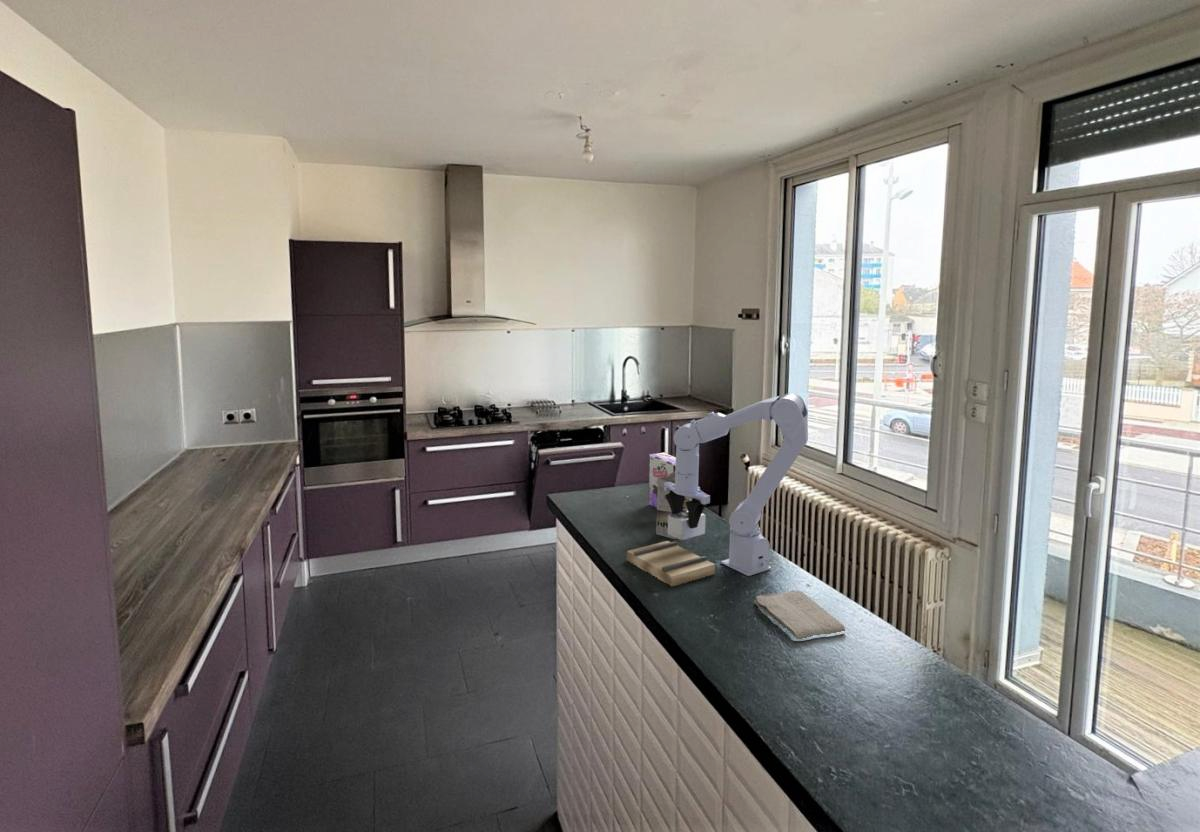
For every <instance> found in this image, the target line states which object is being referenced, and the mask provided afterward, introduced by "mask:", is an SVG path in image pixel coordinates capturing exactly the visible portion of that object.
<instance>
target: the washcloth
mask: <svg viewBox="0 0 1200 832" xmlns="http://www.w3.org/2000/svg"><path fill="white" fill-rule="evenodd" d="M753 603H754V605H755V604H756V605H757V606H759V607H760V608H762V609H763V610H764V611H765V612H767V613H768V614H769V615H770V616H771V617H773V619H775V620H776V621H777V622H778V623H779V624H781V625H782V626H783V628H787V630H788V631H790V632H791V633H792V634H793V635H794V636H795V637H796V639H802V638H807V637H811V636H813V635H820V634H831V633H836V632H841V631H845V630H846V627H845V626H844V624H843V623H841V622H840V621H839V620H838V619H836V617H834V616H833V615H831V614H830V613H829V612H828V611H827V610H825V608H823V607H822V606H820V604H818V603H817V602H816V601H814V600H813V599H812V598H810V597H809V596H808V595H807V594H806V593H804V591H801V590H791V591H788V592H783V593H782V592H781V593H768V594H764V595H763V594H762V595H756V596H755V599H754V600H753ZM756 605H755V606H756ZM757 606H756V607H757Z"/></svg>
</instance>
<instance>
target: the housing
mask: <svg viewBox="0 0 1200 832" xmlns="http://www.w3.org/2000/svg"><path fill="white" fill-rule="evenodd" d="M706 519H707V518H706V514H705V513H702V514H701V516H700V519H699V522H698V526H697V527H696V528H692V529H691V528H690V527H689V514H688V509H683V510H681V512H679V513H675V514H671V515H668V535H671V536H673V537H675V538H676V539H677V540H680V541H684V540H689V539H691V538H694V537H698V536H702V535H705V534H706Z"/></svg>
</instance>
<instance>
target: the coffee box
mask: <svg viewBox="0 0 1200 832" xmlns="http://www.w3.org/2000/svg"><path fill="white" fill-rule="evenodd" d="M667 482H672V483H675V472H674V473H671V474H669V475H666V476H664V477H661V478H658V491H657V509H656V525H655V526H656V527H655V530H656V531H655V532H656V535H658V536H660V537H661V536H662V537H666V538H668V539H672V540H676V539H677V538H675V537H673V536H671V535H668V515H671V514H672V511H671V508H670V505H669V503H668V501H667V499H666V498H665V495H666V494H669V493H670V491H665V490H664V483H667ZM688 501H692V499H691V498H688V497H685V500H684V504H683V509H687V506H686V502H688Z"/></svg>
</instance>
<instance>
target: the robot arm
mask: <svg viewBox="0 0 1200 832" xmlns="http://www.w3.org/2000/svg"><path fill="white" fill-rule="evenodd" d="M808 415H809V410H808V408H807V405H806V404H805V401H804V399H803V398H802V396H800V395H799V394H797V393H792V392H791V393H790V392H789V393H785V394H783V395H782V396H781V397H780V395H778V396H774V397H770V398H766V399H764V400H760V401H757V402H755V403H753V404H750V405H748V406H745V407H743V408H741V409H739V410H736V411H733V412H731V413H728V414H724V413H722V412H714V411H712V412H711V411H710V412H708V413H707V416H705V417H702V418H700V419H697V420H695V419H692V420H690V421H689V422H690V423H689V422H688V423H685V424H684V425H682V426H680V427H678V429H676V430H675V432H674V434H673V443H674V445H675V446H676V449H675V457H676V468H675V483H672V482H667V483H664V490H665V491H670V493H669V494H666V495H665V498H666V499H667V501H668V503H669V505H670V508H671V511H672V514H675V513H679V512H681V510H683V504H684V500H685V497H688V498H691V499H692V501H688V502H686V506H687V509H688V514H689V527H690V528H691V529H692V528H696V527H697V526H698V522H699V519H700V516H701V514H703V512H704V510H705V508H706V507H707V505H708V504H711V495H710V494H707V493H705V492H704V491H702V490H701V487H700V486H699V474H700V473H699V466H700V444H705V443H708V442H710V441H713V440H716V439H719V438H721V437H724V436H727V435H728V433H729V432H730V429H731V428H733V427H736V426H740V425H742V424H746V423H748V422H752V421H755V420H757V419H762V420H764V421H767V422H771V421H772V420H773V421H774V423H775V424H776V426H778V427H779V428H780V432H781V435H782V437H783V439H784V440H783V442H782V444H781V445H780V447H779V448H778V450H777V452H776V453H775V455H774V456H773V458H772V459H771V460H770V462H769V464H768V465H767V467H766V468H765V470H764V471H763V473H762V475H761V476H759V478H758V480H757V482H756V484H754V487H753V488H752V490H751V491H750V493H749V495H748V496H746V499H744V500H742V501H740V502H739V503H738V505H737V506H736V509H735V510H734V511H733V512H731V514H730V516H729V518H728V524H729V527H730V528H729V529H730V530H729V552H728V553H729V554H728V558H727V559H723V560H721V561H720V563H721V564H722V565H724V566H727V567H728V568H731V569H732V570H735V571H737V572H739V573H741V574H743V575H744V576H748V577H749V576H752V575H756V574H759V573H763V572H766V571H769V570H772V567H771V566H770V555H771V554H770V552H771V551H770V550H771V545H770V542H769V540H768V539H767V538H766V537H764V536H763V534H762V532H761V531H762V530H761V528H760V526H759V525H760V524H758V523H759V522H760V520H761V519H762V517H763V510H764V507H766V505H767V503H768V501H769V500H770V498H771V497H772V495H773V494H774V492H775V491H776V489H777V488H778V486H779V485H780V483H781V482H782V480H783V479H784V478H785V476H786V474H787V473H788V471H789V470H790V469H791V467H792V465H793V464H794V462H795V461H796V459H797V458H798V457H799V456H800V454H801V452H802V450H803V449H804V447H806V445H807V443H808V441H809V439H808V438H809V432H808V431H809V430H808V424H809V423H808Z"/></svg>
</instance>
